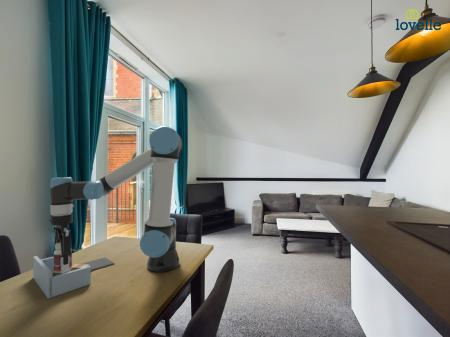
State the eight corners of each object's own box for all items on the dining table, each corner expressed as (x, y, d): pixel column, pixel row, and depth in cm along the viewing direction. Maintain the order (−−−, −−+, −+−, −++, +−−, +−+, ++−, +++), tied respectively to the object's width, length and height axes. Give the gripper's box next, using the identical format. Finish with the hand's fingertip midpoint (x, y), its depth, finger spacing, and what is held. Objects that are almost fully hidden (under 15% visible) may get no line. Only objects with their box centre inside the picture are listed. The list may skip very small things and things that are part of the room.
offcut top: (89, 269, 102) (89, 264, 102) (83, 272, 98) (83, 268, 98) (76, 268, 103) (76, 263, 103) (70, 271, 99) (70, 267, 99)
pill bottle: (61, 274, 91) (60, 246, 92) (50, 272, 93) (49, 244, 93) (75, 267, 97) (75, 241, 97) (64, 266, 99) (64, 240, 99)
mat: (114, 264, 112) (114, 262, 112) (89, 271, 104) (89, 270, 104) (104, 258, 119) (104, 257, 119) (81, 264, 111) (81, 263, 111)
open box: (90, 283, 93) (90, 261, 93) (47, 298, 82) (48, 273, 82) (71, 267, 108) (71, 248, 108) (33, 277, 98) (33, 256, 98)
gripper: (80, 215, 92) (80, 272, 92) (65, 210, 104) (66, 261, 104) (57, 218, 86) (58, 279, 86) (44, 213, 99) (45, 266, 99)
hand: (62, 269), depth 95 cm, fingers closed on pill bottle, 6 cm apart
